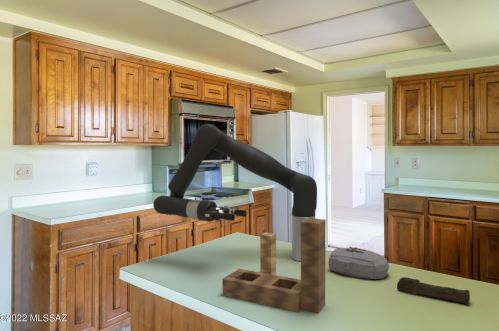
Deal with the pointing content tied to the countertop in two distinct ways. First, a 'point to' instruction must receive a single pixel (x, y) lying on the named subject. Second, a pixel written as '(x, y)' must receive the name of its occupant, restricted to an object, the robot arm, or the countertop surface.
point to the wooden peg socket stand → (283, 288)
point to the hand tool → (432, 290)
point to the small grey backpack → (358, 263)
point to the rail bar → (268, 253)
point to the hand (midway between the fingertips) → (240, 215)
